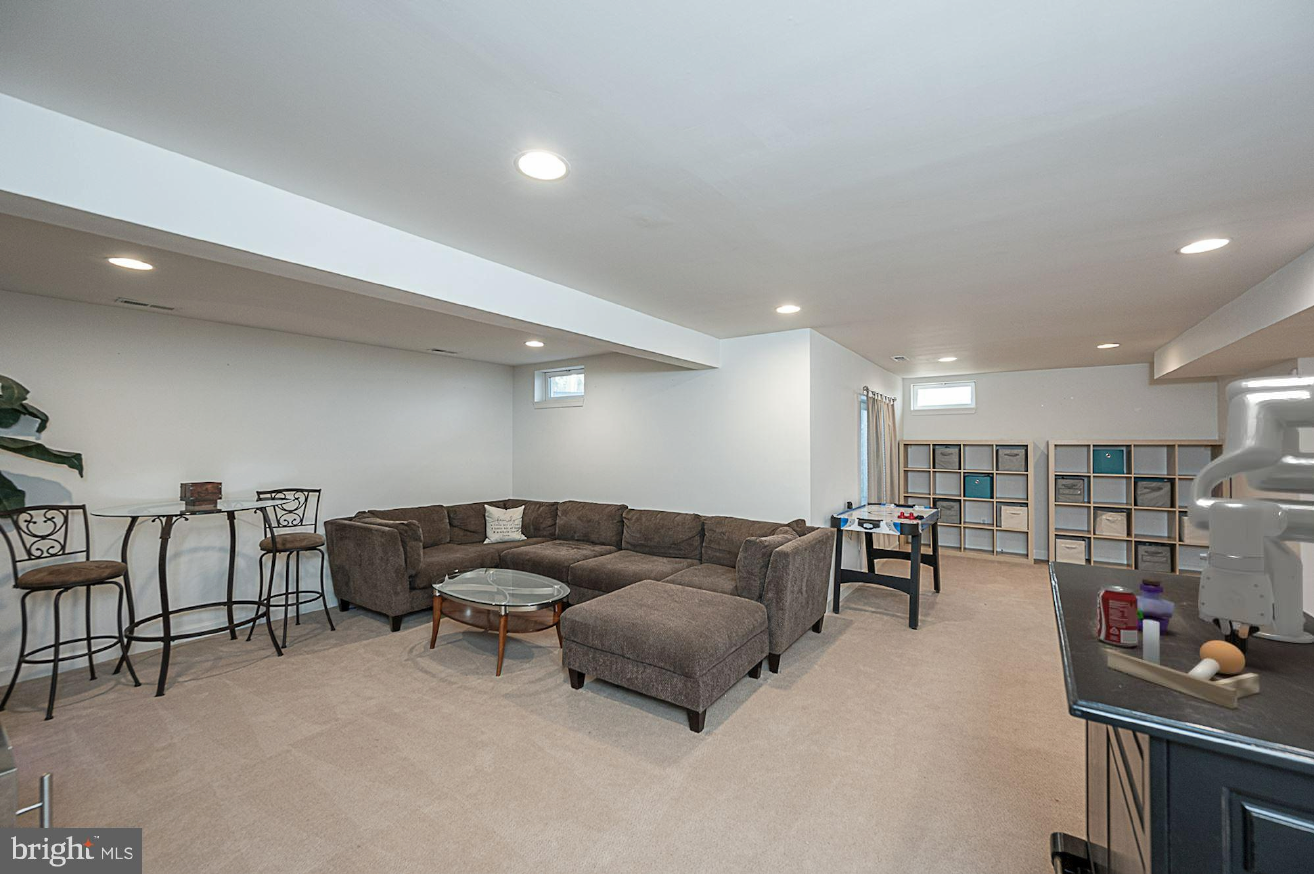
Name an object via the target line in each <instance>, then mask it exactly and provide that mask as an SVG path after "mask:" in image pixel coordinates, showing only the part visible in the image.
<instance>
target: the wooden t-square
mask: <svg viewBox="0 0 1314 874" xmlns="http://www.w3.org/2000/svg"><path fill="white" fill-rule="evenodd" d="M1107 667H1108V668H1109V667H1110V668H1109V669H1112V670H1115V669H1116V671H1118V670H1119V672H1121V671H1122V672H1121V673H1124V674H1127V673H1128V674H1127V675H1130V676H1133V677H1136V678H1139V679H1142V680H1145V681H1148V682H1151V683H1154V684H1157V685H1160V686H1162V687H1166V688H1168V689H1171V690H1174V691H1177V692H1181V693H1184V694H1186V695H1189V696H1192V697H1195V698H1198V699H1201V700H1204V701H1207V702H1209V703H1213V704H1216V705H1219V706H1222V707H1225V708H1227V709H1231V710H1234V709H1238V699H1239V698H1243V697H1246V696H1250V695H1254V694H1258V693H1260V675H1259V674H1257V673H1253V672H1249V673H1244V674H1240V675H1236V676H1231V677H1228V678H1220V677H1218V676H1217V677H1216V676H1214V675H1213V676H1212V677H1211V678H1210V679H1209V680H1205V679H1202V678H1199V677H1196V676H1193V675H1189V674H1188V673H1189V672H1190V671H1191V670H1192V669H1191V670H1188V671H1187V673H1186V672H1183V671H1179V670H1176V669H1172V668H1170V667H1167V666H1164V665H1157V664H1154V663H1151V662H1148V661H1144V660H1143V659H1141V658H1137V657H1134V656H1131V655H1128V654H1124V653H1122V652H1118V651H1115V650H1109V651H1107Z"/></svg>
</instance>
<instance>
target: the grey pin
mask: <svg viewBox="0 0 1314 874" xmlns="http://www.w3.org/2000/svg"><path fill="white" fill-rule="evenodd" d="M1160 649H1161V648H1160V634H1159V622H1157V621H1153V620H1143V631H1142V660H1144V661H1148V662H1151V663H1154V664H1157V665H1160V658H1161V656H1160V655H1161V653H1160V652H1161V650H1160ZM1160 666H1161V665H1160Z"/></svg>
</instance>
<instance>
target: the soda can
mask: <svg viewBox="0 0 1314 874" xmlns="http://www.w3.org/2000/svg"><path fill="white" fill-rule="evenodd" d="M1100 588H1101V589H1100V590H1099V591H1098V592H1097V594H1096V595H1097V599H1096V603H1097V605H1096V607H1097V608H1096V609H1097V615H1096V616H1097V618H1096V619H1097V621H1096V622H1097V623H1096V624H1097V625H1096V626H1097V630H1096V633H1097V638H1098V639H1099V640H1100V641H1102V642H1104V643H1105V644H1108V645H1111V646H1115V647H1119V648H1120V647H1121V648H1131V647H1134V646H1137V645H1138V644H1139V640H1138V639H1139V629H1138V599H1137V598H1136V596H1137V595H1135V594H1134V592H1135V591H1134V589H1132V588H1129V587H1126V586H1121V585H1120V586H1119V585H1109V584H1103V585H1101V586H1100Z"/></svg>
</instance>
